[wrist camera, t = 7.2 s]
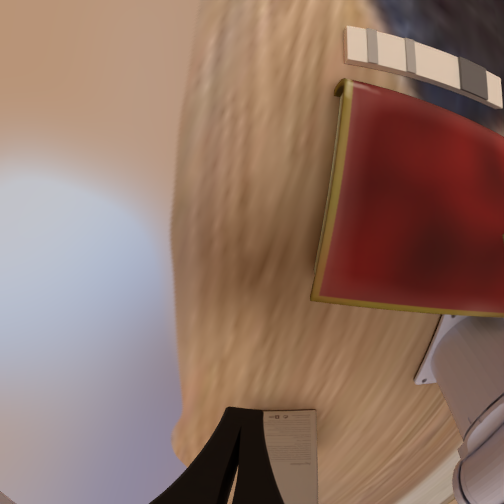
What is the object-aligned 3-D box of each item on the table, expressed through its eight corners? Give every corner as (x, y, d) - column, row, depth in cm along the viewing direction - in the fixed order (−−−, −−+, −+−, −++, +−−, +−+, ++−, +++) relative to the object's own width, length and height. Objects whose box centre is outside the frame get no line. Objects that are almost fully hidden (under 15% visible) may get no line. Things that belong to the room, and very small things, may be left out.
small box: (248, 409, 24) (225, 533, 12) (316, 408, 23) (319, 536, 11) (256, 449, 27) (240, 548, 14) (312, 449, 26) (311, 549, 14)
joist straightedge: (492, 79, 12) (502, 77, 10) (494, 109, 13) (504, 108, 11) (343, 31, 13) (347, 23, 12) (344, 63, 14) (348, 57, 12)
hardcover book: (333, 88, 15) (347, 71, 11) (545, 173, 13) (576, 181, 9) (306, 271, 19) (310, 303, 15) (513, 297, 18) (537, 320, 14)
